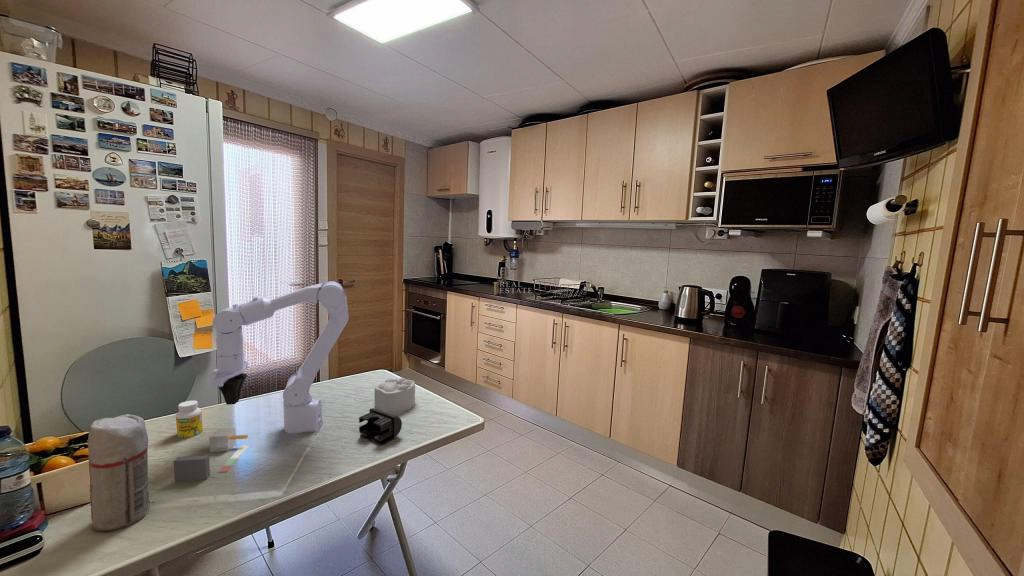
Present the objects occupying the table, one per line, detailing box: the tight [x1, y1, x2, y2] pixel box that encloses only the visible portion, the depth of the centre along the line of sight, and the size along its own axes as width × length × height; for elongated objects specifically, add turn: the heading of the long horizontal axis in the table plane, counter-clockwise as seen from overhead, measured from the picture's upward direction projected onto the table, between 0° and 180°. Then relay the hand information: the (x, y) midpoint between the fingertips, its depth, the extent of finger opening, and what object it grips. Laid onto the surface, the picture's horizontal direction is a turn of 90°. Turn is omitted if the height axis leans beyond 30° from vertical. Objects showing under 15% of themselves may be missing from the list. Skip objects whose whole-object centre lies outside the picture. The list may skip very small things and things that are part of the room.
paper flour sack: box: [87, 413, 150, 532], centre depth 74 cm, size 8×8×20 cm
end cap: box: [358, 407, 403, 447], centre depth 110 cm, size 10×7×7 cm
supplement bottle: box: [175, 400, 204, 439], centre depth 105 cm, size 5×5×10 cm
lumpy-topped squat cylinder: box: [374, 377, 416, 415], centre depth 130 cm, size 10×13×9 cm
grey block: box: [208, 427, 249, 453], centre depth 100 cm, size 8×4×4 cm, turn 102°
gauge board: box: [173, 445, 250, 483], centre depth 93 cm, size 12×18×6 cm, turn 12°
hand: (232, 402), depth 104 cm, fingers closed
